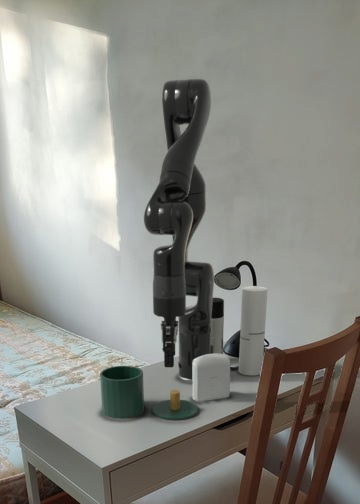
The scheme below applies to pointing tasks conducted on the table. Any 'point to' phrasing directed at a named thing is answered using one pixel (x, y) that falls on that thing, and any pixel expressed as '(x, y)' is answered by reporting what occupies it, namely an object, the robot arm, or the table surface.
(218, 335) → the spray can
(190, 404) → the lid
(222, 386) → the photo printer
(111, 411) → the tin
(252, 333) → the cylindrical container
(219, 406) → the table surface
